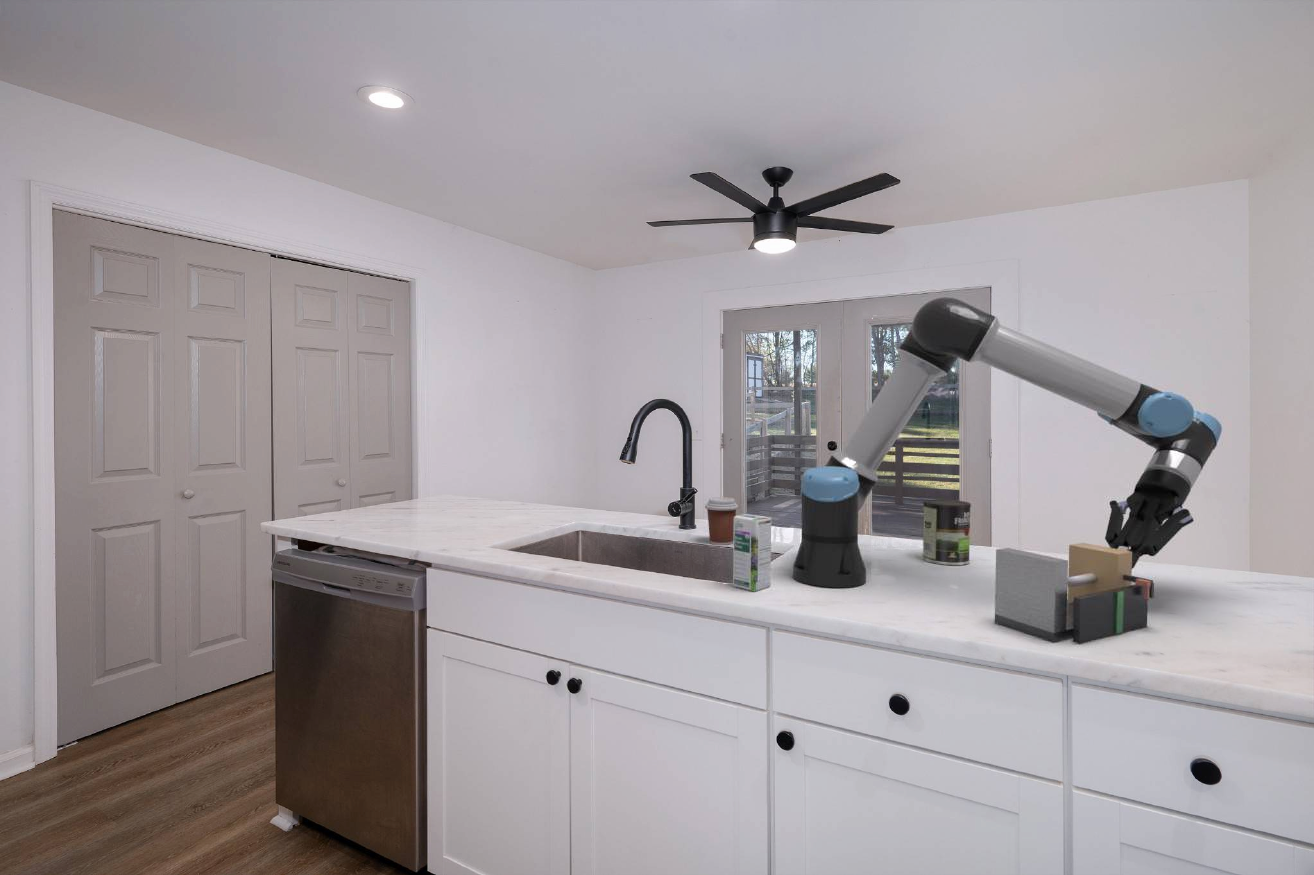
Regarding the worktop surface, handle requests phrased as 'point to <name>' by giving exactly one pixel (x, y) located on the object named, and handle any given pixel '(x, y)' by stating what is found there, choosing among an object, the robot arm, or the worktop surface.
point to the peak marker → (1146, 586)
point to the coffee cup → (721, 520)
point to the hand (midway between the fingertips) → (1110, 579)
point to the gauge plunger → (1099, 570)
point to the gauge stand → (1060, 601)
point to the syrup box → (752, 552)
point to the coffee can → (946, 532)
